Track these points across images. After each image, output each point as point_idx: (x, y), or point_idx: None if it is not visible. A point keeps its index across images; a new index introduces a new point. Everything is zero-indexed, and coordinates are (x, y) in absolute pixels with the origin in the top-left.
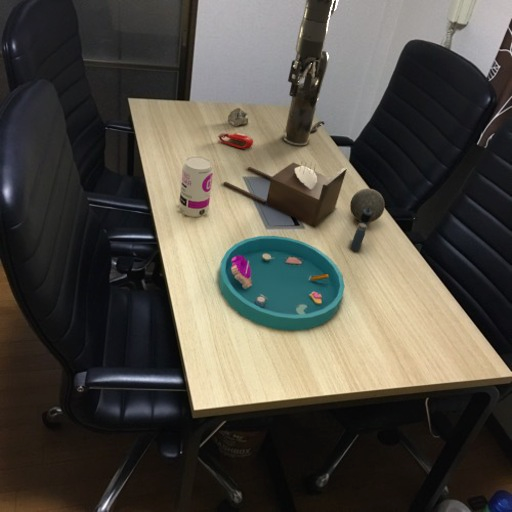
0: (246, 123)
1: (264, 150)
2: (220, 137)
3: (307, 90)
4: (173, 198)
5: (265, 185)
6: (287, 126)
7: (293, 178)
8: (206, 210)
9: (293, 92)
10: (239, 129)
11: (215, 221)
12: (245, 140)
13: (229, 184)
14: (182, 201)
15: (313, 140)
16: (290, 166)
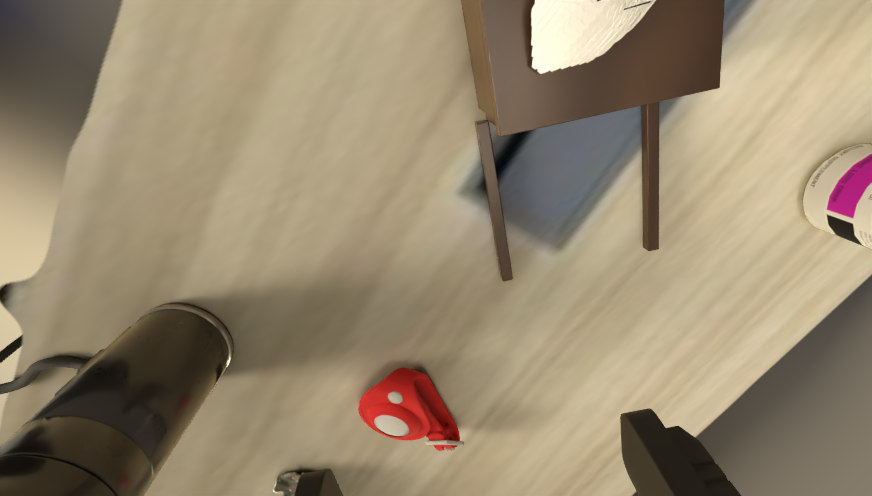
0: (294, 472)
1: (354, 339)
2: (457, 438)
3: (332, 478)
4: (821, 262)
5: (539, 174)
6: (206, 396)
7: None
8: (863, 147)
9: (709, 466)
10: (332, 457)
11: (857, 101)
12: (414, 392)
13: (655, 231)
14: None
15: (107, 315)
16: (547, 113)
